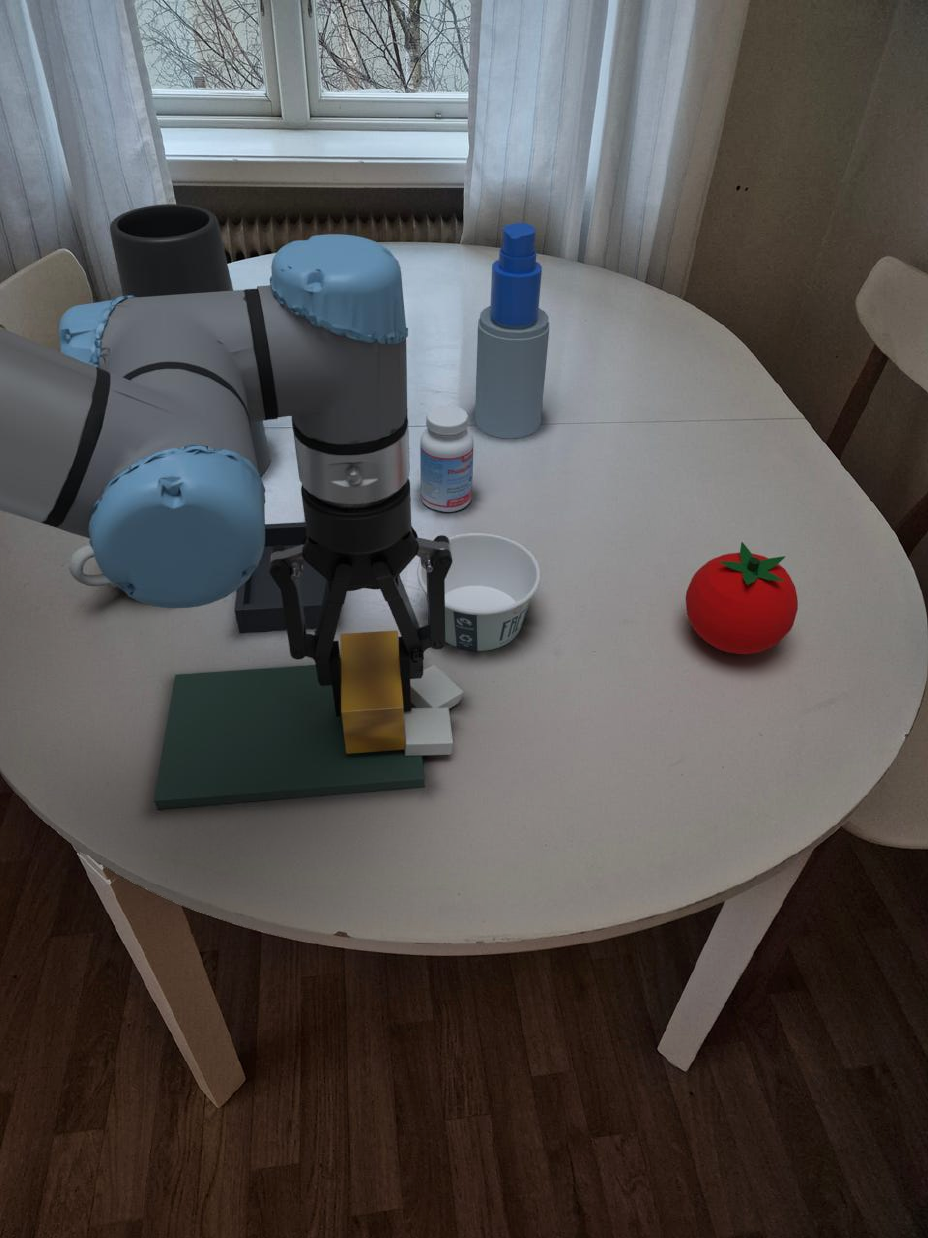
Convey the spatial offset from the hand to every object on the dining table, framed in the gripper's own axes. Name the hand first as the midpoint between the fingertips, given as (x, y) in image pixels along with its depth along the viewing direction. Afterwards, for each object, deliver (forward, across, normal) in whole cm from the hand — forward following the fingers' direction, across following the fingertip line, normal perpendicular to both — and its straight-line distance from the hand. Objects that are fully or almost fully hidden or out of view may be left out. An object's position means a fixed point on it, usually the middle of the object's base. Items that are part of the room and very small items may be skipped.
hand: (373, 701), depth 75 cm
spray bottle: (+4, +20, +51) cm, 55 cm away
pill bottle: (+4, +10, +34) cm, 36 cm away
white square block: (+3, +5, +2) cm, 6 cm away
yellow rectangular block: (+1, 0, 0) cm, 1 cm away
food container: (+4, +11, +13) cm, 17 cm away
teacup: (+4, -23, +22) cm, 32 cm away
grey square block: (+2, +4, -3) cm, 6 cm away
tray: (+3, -8, +20) cm, 22 cm away
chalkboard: (+3, -7, 0) cm, 8 cm away
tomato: (+4, +36, +8) cm, 37 cm away
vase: (+4, -18, +44) cm, 48 cm away
